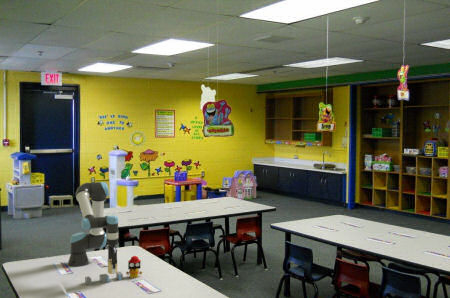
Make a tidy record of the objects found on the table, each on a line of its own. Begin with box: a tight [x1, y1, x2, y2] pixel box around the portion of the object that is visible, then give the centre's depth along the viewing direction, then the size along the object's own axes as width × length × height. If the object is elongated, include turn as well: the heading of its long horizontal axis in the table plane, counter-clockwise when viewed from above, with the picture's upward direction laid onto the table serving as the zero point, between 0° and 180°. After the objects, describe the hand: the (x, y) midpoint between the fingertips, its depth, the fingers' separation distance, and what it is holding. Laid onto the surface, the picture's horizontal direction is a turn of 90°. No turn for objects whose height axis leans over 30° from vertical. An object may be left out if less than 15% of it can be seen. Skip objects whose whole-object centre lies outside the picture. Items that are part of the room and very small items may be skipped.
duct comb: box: [84, 271, 124, 286], centre depth 304 cm, size 6×24×5 cm, turn 121°
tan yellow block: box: [107, 258, 118, 275], centre depth 307 cm, size 5×5×9 cm
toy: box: [125, 255, 143, 279], centre depth 317 cm, size 11×9×15 cm
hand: (112, 272), depth 307 cm, fingers closed on tan yellow block, 5 cm apart
